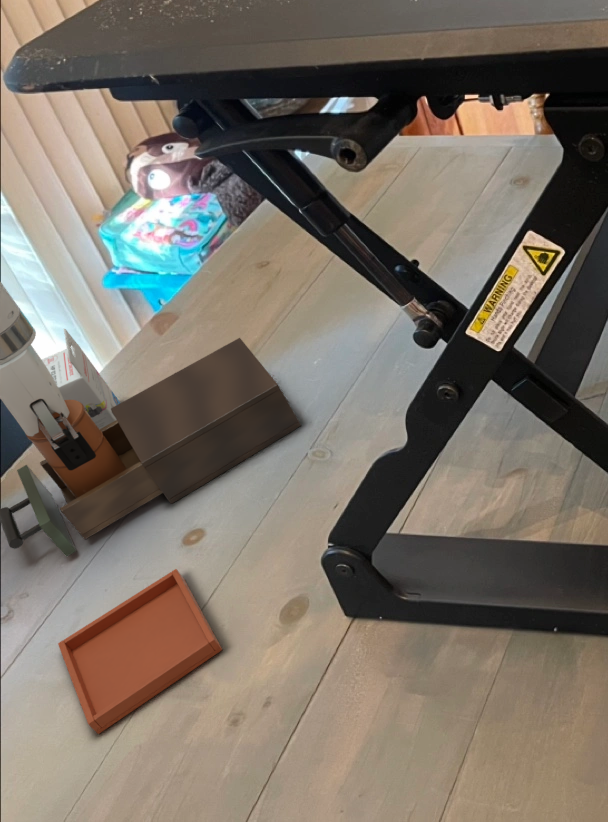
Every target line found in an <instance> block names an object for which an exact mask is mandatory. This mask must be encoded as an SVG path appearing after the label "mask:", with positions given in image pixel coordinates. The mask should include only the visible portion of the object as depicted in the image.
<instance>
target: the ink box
mask: <svg viewBox="0 0 608 822" xmlns="http://www.w3.org/2000/svg"><path fill="white" fill-rule="evenodd" d="M63 333H64V340H65V347H66V349H63V350H61V351H58V352H56V353H54V354H52V355H48V356H47V357H44V358H41V360H42V361H43V363H44V364H45V366H46V367H47V369H48V370H49V372H50V374H51V375H52V377H53V379H54V381H55V383H56V384H57V386H58V388H59V390H60V392H61V394H62V397H63V399H64V400H76V401H79V402H81V403H82V404H83V405H84V407H85V410H86V411H87V413H88V414H89V416H90V417H91V418H92V420H93V421H94V423H95V424H96V425H97V427H98V428H99V429H101V428H103V427H105V426H107V425H108V424H110V423H112V422H114V421H116V420H117V419H116V418H115V416H114V414H113V412H112V411H111V408H113V407H114V406H116V405H118V404H120V403H121V401H119V399H118V397H117V396H116V394H115V393H114V392H113V391H112V388H110V386H109V385H108V383H107V382H106V380H105V379H104V378H103V377H102V375H101V374H100V373H99V371H98V369H96V367H95V366H94V364H93V363H92V362H91V360H90V359H89V357H88V356H87V354H86V353H85V352H84V350H83V349H82V348H81V346H80V344H78V343H77V341H76V340H75V339H74V338H73V336H72V335H71V334H70V332H69V331H68V330H67V329H66V328H63Z"/></svg>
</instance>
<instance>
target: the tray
mask: <svg viewBox="0 0 608 822" xmlns="http://www.w3.org/2000/svg"><path fill="white" fill-rule="evenodd" d="M57 644H58V648H59V651H60V653H61V655H62V658H63V661H64V664H65V666H66V669H67V671H68V675H69V677H70V679H71V682H72V685H73V687H74V690H75V692H76V696H77V699H78V702H79V703H80V706H81V709H82V712H83V714H84V717H85V720H86V723H87V724H88V726H89V727H90V728H91V729H92V730H93V731H94V732H96V734H98V735H99V734H101V733H102V732H104V731H105V730H107V729H108V728H110V727H112V726H113V725H114V724H116V723H117V722H119V721H120V720H121V719H123V718H124V717H126V716H128V715H129V714H131V713H132V712H133V711H135V710H136V709H137V708H140V707H141V706H143V704H145V703H146V702H149V700H151V699H153V698H154V697H156V696H157V695H158V694H160V693H161V692H163V691H165V689H167V688H169V687H170V686H171V685H173V684H175V683H176V682H178V681H179V680H180V679H182V678H183V677H185V676H187V675H188V674H189V673H191V672H192V671H194V670H195V669H197V668H198V667H200V666H201V665H203V664H204V663H205V662H207V661H208V660H210V659H211V658H213V657H215V656H216V655H218V654H219V653H220V652H221V651H223V648H222V646H221V644H220V642H219V641H218V639H217V637H216V635H215V633H214V631H213V629H212V628H211V626H210V624H209V622H208V620H207V619H206V616H205V614H204V613H203V611H202V609H201V607H200V605H199V603H198V602H197V600H196V598H195V596H194V594H193V592H192V591H191V589H190V587H189V585H188V583H187V582H186V579H185V578H184V576H183V575H182V574H181V573H180V572H179V571H178V568H175V569H174V570H171V571H170V572H168V573H167V574H166V575H163V576H162V577H161V578H159V579H158V580H156V581H154V582H153V583H151V584H150V585H148V586H146V587H145V588H143V589H142V590H140V591H139V592H137V593H135V594H134V595H132V596H130V597H128V599H126V600H124V601H123V602H121V603H120V604H117V606H115V607H113V608H111V609H110V610H108V611H107V612H105V613H104V614H102V615H100V616H99V617H98V618H96V619H94V620H93V621H90V622H89V623H88V624H86V625H85V626H83V627H82V628H79V630H77V631H75V632H74V633H73V634H71V635H69V636H68V637H66V638H64V639H63V640H61V641H59V642H58V643H57Z"/></svg>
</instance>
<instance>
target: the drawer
mask: <svg viewBox="0 0 608 822" xmlns="http://www.w3.org/2000/svg"><path fill="white" fill-rule="evenodd" d="M100 430H101V431H102V433H103V435H104V436H105V438H106V439H107V441H108V442H109V443H110V445H111V446H112V448H113V449H114V450H115V452H116V453H117V455H118V456H119V457H120V459H121V460H122V462H123V463H124V464H125V466H126V470H125V471H123V472H121V473H120V474H118V475H116V476H114V477H113V478H111V479H109V480H107V481H106V482H104V483H102V484H101V485H99V486H97V487H95V488H94V489H92V490H90V491H88V492H87V493H85V494H83V495H82V496H80V497H78V498H76V497H75V496H74V495H73V494H72V493H71V491H70V490H69V489H68V487H67V486H66V485H65V484H64V482H63V481H62V480H61V478H60V477H59V476H58V475H57V473H56V472H55V471H54V470H53V468H52V467H51V466H50V465H49V464H48V463H47V461H46V459H45V458H44V459H43V460H42V461H40V462H39V464H40V466H41V467H42V468H43V470H44V471H45V472H46V473H47V474H48V476H49V477H50V478H51V480H52V481H53V482H54V483H55V484H56V486H57V487H58V488H59V490H60V491H61V493H62V495H63V497H64V500H65V503H66V504H63V506H61V507H60V508H59V507H58V506H57V503H56V500H55V498H54V496H53V494H52V492H50V490H49V489H48V487H46V486H45V484H43V482H42V481H41V479H39V477H38V476H37V475H36V474H35V472H34V471H33V470H32V468H30V467H29V465H28V464H25V465H23V466H22V467H20V468H18V469H17V470H16V472H17V474H18V477H19V479H20V481H21V484H22V486H23V489H24V491H25V493H26V496H27V497H26V498H25V499H22V500H21V501H19V502H18V503H16V504H13V505H12V506H10V507H9V506H8V507H7V506H4V507H1V508H0V524H1V525H0V526H1V527H2V530H3V533H4V535H5V538H6V541H7V544H8V547H9V548H10V549H14V550H15V549H20V547H21V546H23V544H24V541H25V540H27V539H29V538H30V537H32V536H34V535H35V534H38V533H39V532H40V531H43V532H44V533H45V535H46V536H47V537H48V538H49V539H50V540H51V542H52V543H54V545H55V546H56V547H57V548H58V549H59V551H60V552H61V553H62V554H63V555H64V556H65V557H69V556H70V555H72V554H74V553H75V552H77V549H76V547H75V546H76V545H75V544H74V542H73V540H72V537H71V535H70V532H69V531H68V528H67V526H66V523H65V521H64V519H63V516H64V517H65V518H66V520H68V521H69V522H70V524H71V525H72V526H73V528H75V530H76V531H77V532H78V533H79V534H80V536H81V537H82V538H83V539H84V540H86V539H89V538H90V537H91V536H93V535H95V534H96V533H99V532H100V531H102V530H103V529H105V528H107V527H108V526H110V525H112V524H113V523H115V522H117V521H118V520H120V519H122V518H123V517H125V516H127V515H128V514H130V513H132V512H134V511H135V510H137V509H138V508H140V507H141V506H142V507H143V506H144V505H145V504H147V503H149V502H150V501H152V500H154V499H155V498H157V497H158V496H160V495H162V494H163V492H162V491H161V490H160V488H159V487H158V486H157V484H156V483H155V481H154V480H153V479H152V477H151V476H150V475H149V473H148V472H147V471H146V469H145V468H144V467H143V465H142V464H141V462H140V460H139V459H138V457H137V455H136V453H135V451H134V450H133V448H132V446H131V444H130V443H129V441H128V439H127V437H126V435H125V434H124V432H123V430H122V428H121V427H120V425H119V423H118V421H117V420H116V421H114V422H112V423H110V424H108V425H107V426H105V427H103V428H101V429H100ZM29 505H30V506H31V508H32V511H33V513H34V516H35V519H36V521H37V523H38V524H36V525H34V526H32V527H30V528H29V529H26V530H25V531H24V532H22V533H21V532H20V530H19V526H18V524H17V522H16V519H15V517H14V514H15V513H17V512H19V511H20V510H21V509H23V508H25V507H27V506H29ZM60 512H61V513H62V514H63V516H62V514H61V513H60Z"/></svg>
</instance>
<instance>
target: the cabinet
mask: <svg viewBox="0 0 608 822" xmlns="http://www.w3.org/2000/svg"><path fill="white" fill-rule="evenodd" d="M111 411H112V412H113V414H114V416H115V418H116V419H117V421H118V423H119V425H120V427H121V428H122V430H123V432H124V434H125V435H126V437H127V439H128V441H129V443H130V444H131V446H132V448H133V450H134V451H135V453H136V455H137V457H138V459H139V460H140V462H141V464H142V465H143V467H144V468H145V469H146V471H147V472H148V473H149V475H150V476H151V477H152V479H153V480H154V481H155V483H156V484H157V486H158V487H159V488H160V490H161V491H162V492H163V493H162V494H163V495H164V496H165V498H166V499H167V501H168V502H169V503H170V504H174V503H175V502H177V501H179V500H180V499H182V498H184V497H185V496H188V495H189V494H191V493H192V492H194V491H196V490H197V489H200V488H201V487H202V486H204V485H206V484H207V483H209V482H210V481H212V480H214V479H215V478H217V477H219V476H220V475H223V474H224V473H225V472H227V471H228V470H230V469H232V468H234V467H236V466H237V465H238V464H240V463H242V462H243V461H245V460H247V459H248V458H250V457H252V456H253V455H255V454H256V453H258V452H260V451H262V450H264V449H265V448H267V447H268V446H270V445H272V444H273V443H275V442H277V441H278V440H280V439H282V438H284V437H285V436H287V435H289V434H290V433H291V432H294V431H295V430H296V429H298V428H299V427H301V426H302V423H301V422H300V420H299V419H298V417H297V415H296V413H295V411H294V410H293V408H292V406H291V405H290V403H289V401H288V400H287V398H286V396H285V394H284V392H283V390H282V389H281V387H280V385H279V383H277V381H275V379H274V378H273V376H272V375H271V374H270V372H268V370H267V369H266V368H265V366H264V365H262V363H261V362H260V361H259V359H258V358H257V357H256V356H255V354H254V353H253V352H252V350H251V349H250V348H249V346H247V344H246V343H245V342H244V341H243V340H242V338H241V337H238V338H236V339H235V340H232V341H231V342H229V343H227V344H225V345H223V346H222V347H220V348H218V349H217V350H215V351H213V352H211V353H209V354H207V355H206V356H204V357H202V358H200V359H198V360H196V361H195V362H192V363H191V364H189V365H187V366H186V367H183V368H182V369H180V370H178V371H176V372H175V373H173V374H171V375H169V376H167V377H165V378H164V379H162V380H160V381H158V382H156V383H154V384H153V385H151V386H149V387H147V388H146V389H144V390H142V391H140V392H138V393H136V394H134V395H133V396H131V397H129V398H127V399H126V400H124V401H122V402H120V404H118V405H116V406H114V407H113V408H111Z"/></svg>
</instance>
